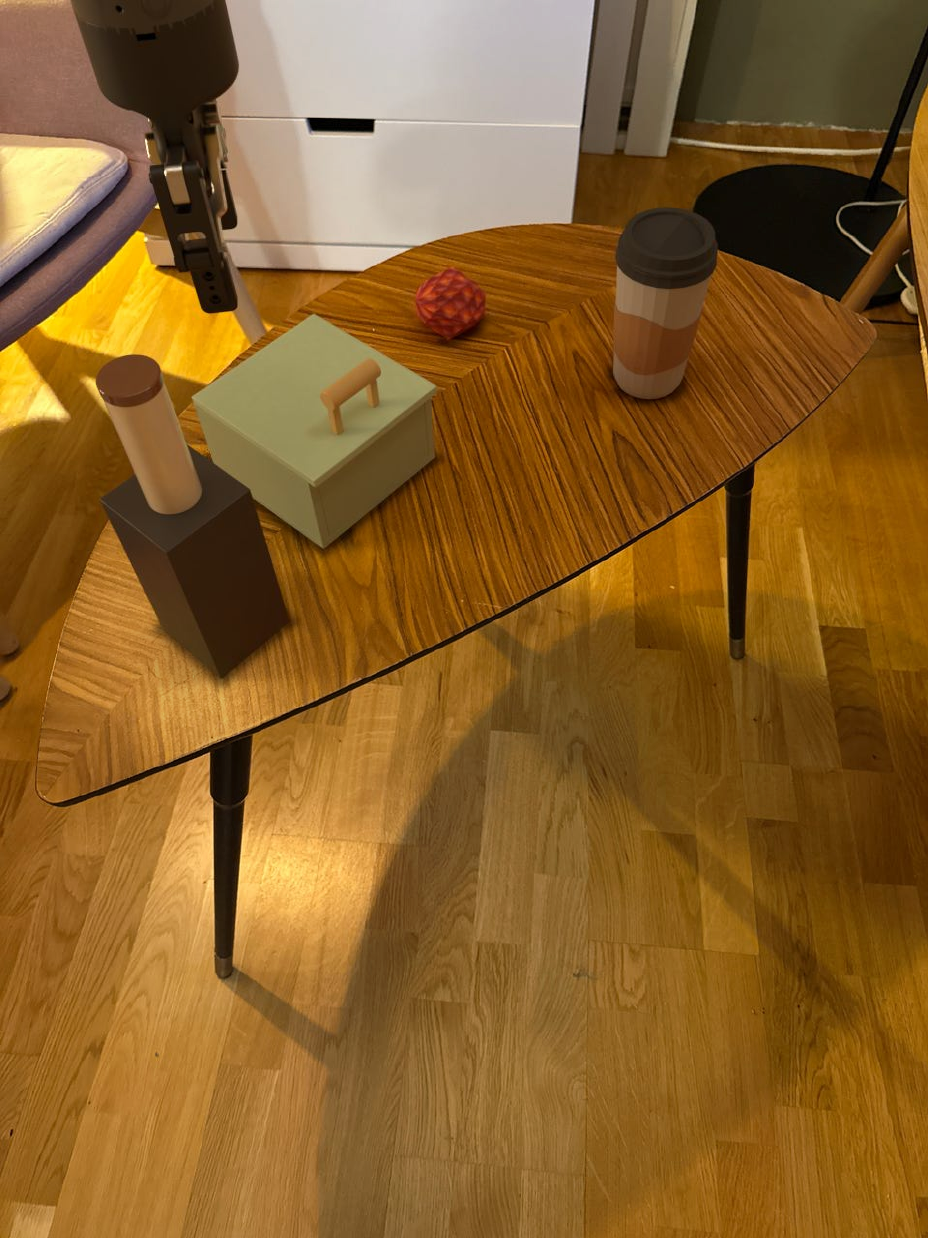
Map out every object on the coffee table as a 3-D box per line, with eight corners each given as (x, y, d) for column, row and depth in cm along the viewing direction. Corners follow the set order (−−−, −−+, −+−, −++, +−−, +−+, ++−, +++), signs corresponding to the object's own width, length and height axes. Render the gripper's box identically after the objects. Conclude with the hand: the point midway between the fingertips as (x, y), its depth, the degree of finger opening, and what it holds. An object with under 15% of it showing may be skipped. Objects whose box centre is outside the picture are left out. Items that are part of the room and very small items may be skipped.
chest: (435, 457, 87) (430, 389, 80) (323, 549, 81) (308, 483, 75) (327, 389, 92) (315, 321, 86) (216, 471, 86) (193, 404, 80)
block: (221, 679, 74) (166, 552, 62) (162, 629, 77) (98, 498, 64) (290, 621, 77) (250, 489, 65) (231, 575, 80) (182, 440, 67)
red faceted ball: (484, 354, 98) (414, 351, 93) (459, 307, 100) (390, 302, 96) (512, 303, 93) (440, 298, 89) (485, 256, 96) (414, 248, 92)
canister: (170, 524, 63) (121, 406, 55) (134, 496, 64) (81, 377, 56) (214, 491, 65) (173, 371, 56) (178, 465, 66) (133, 344, 58)
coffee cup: (707, 366, 92) (738, 221, 80) (668, 420, 88) (695, 276, 76) (626, 337, 95) (645, 192, 83) (585, 388, 91) (599, 244, 79)
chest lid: (437, 393, 80) (434, 343, 76) (315, 488, 74) (305, 440, 70) (315, 320, 86) (305, 270, 82) (193, 404, 80) (177, 354, 76)
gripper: (82, -66, 53) (166, 209, 67) (54, 62, 45) (157, 346, 58) (221, -79, 54) (278, 197, 67) (219, 46, 45) (284, 332, 59)
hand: (221, 266), depth 63 cm, fingers open, 8 cm apart
